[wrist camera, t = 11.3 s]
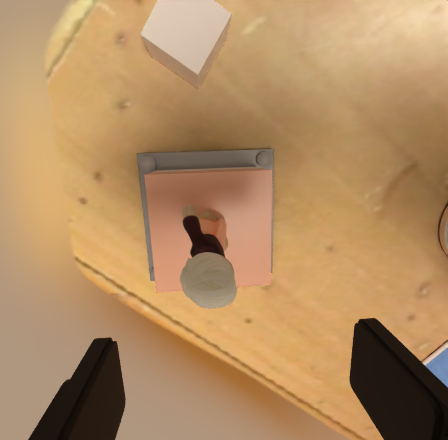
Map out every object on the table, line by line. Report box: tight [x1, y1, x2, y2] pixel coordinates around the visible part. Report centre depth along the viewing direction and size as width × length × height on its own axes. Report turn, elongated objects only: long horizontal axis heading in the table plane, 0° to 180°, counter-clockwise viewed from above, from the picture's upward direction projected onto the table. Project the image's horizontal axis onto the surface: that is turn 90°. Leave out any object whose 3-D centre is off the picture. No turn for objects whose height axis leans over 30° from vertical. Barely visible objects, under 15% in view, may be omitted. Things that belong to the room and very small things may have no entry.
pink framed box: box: [137, 149, 274, 293], centre depth 31 cm, size 16×16×8 cm
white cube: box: [140, 0, 232, 89], centre depth 27 cm, size 6×6×6 cm
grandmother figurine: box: [180, 205, 236, 309], centre depth 21 cm, size 8×4×13 cm, turn 33°
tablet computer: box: [422, 341, 448, 387], centre depth 45 cm, size 19×13×1 cm, turn 135°
